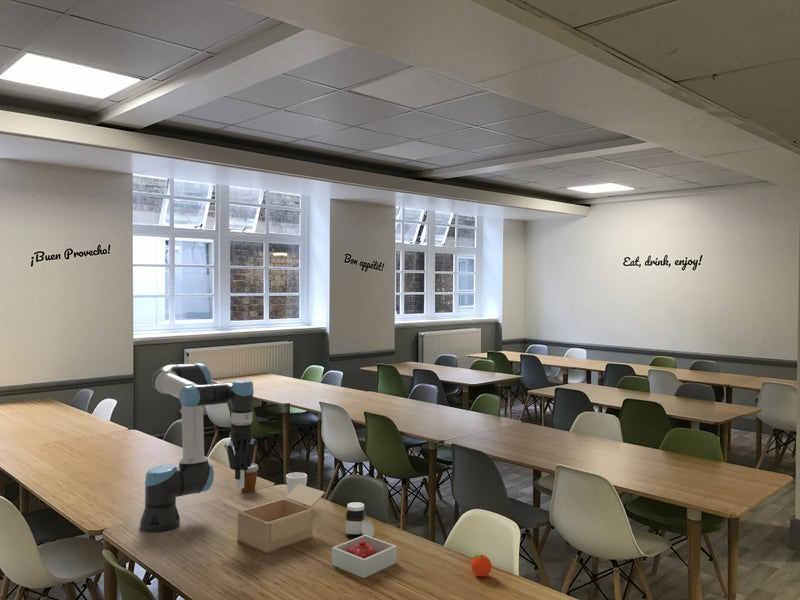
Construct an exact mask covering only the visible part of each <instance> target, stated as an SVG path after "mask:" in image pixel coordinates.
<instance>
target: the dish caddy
mask: <svg viewBox="0 0 800 600" xmlns="http://www.w3.org/2000/svg"><path fill="white" fill-rule="evenodd" d="M362 540H363V541H366V544H369V545H371V546H372V547H373V548H374V549H375V550H376V553H377V554H374V555H372V556H370V557H367V558H365V559H363V558H361V557H358V556H356V555H353V554H350V553H348V551H349V549H350V548H351V547H352V546H355V545H358V544H359V541H362ZM397 551H398V546H397V545H395V544H393V543H389V542H387V541H384V540H381V539H378V538H375V537H370V536H367V535H363V536H360V537H354V538H353V539H351V540H348V541H345V542H342V543H340V544H337V545H335V546H332V548H331V566H333V567H336V568H339V569H341V570H344V571H346V572H348V573H350V574H353V575H355V576H357V577H360V578H361V579H362V578H363V579H365V578H367V577H369V576H372V575H374V574H375V573H378V572H380V571H383V570H385V569H386V568H389V567H390V566H393V565H396V564H397V562H398V560H397V558H398V557H397V556H398V555H397V554H398V553H397Z"/></svg>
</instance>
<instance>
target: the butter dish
mask: <svg viewBox="0 0 800 600" xmlns="http://www.w3.org/2000/svg"><path fill="white" fill-rule="evenodd" d="M348 553H350V554H353V555H356V556H358V557H361V558H363V559H365V558H367V557H370V556H372V555H374V554H377V553H376V550H375V549H374V548H373V547H372V546H371V545H369V544H366V541H363V540H362V541H359V544H358V545H355V546H352V547H351V548H350V549H349V551H348Z"/></svg>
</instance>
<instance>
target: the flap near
mask: <svg viewBox="0 0 800 600" xmlns="http://www.w3.org/2000/svg"><path fill="white" fill-rule="evenodd" d="M223 507H226V508H228V509H230V510H233V511H236V512H237V513H238V512H240V513H243V514H245V515H248V516H250V517H253V518H255V519H258V520H260V521H263V522H265V520H262V519H260V518H257V517H255V516H252V515H250V514H247V513H244V512H242V510H239V509H237V508H234V507H231V506H229V505H227V504H223Z"/></svg>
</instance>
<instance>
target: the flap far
mask: <svg viewBox="0 0 800 600" xmlns="http://www.w3.org/2000/svg"><path fill="white" fill-rule="evenodd" d="M325 494H326V492H325V491H323V490H320V489H316V488H313V487H310V486H307V485H306V486H304V485H301V484H298V485H297V486H296V487H295V488H294V489H293V490H292V491H291V492H290V493H289V494H288V493H287V495H286V496H285V499H286V500H289V499H290V500H293V501H296V502H299V503H301V504H303V506H306V507H309V508H313V506H315V504H316V503H318V502H319V500H320V499H321V498H323V496H324V495H325Z"/></svg>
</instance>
